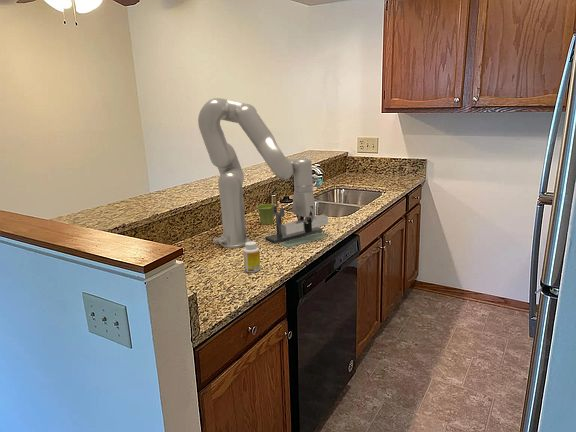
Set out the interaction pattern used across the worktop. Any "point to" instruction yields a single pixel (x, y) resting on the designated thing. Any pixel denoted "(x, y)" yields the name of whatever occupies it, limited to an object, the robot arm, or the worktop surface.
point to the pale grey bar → (303, 224)
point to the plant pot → (266, 213)
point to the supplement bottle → (251, 257)
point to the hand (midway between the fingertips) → (305, 230)
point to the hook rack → (282, 237)
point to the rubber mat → (303, 240)
